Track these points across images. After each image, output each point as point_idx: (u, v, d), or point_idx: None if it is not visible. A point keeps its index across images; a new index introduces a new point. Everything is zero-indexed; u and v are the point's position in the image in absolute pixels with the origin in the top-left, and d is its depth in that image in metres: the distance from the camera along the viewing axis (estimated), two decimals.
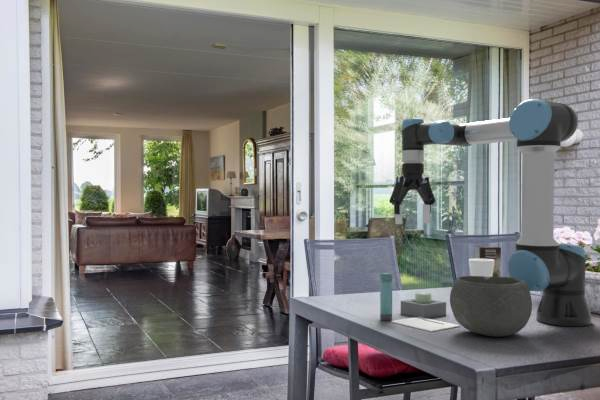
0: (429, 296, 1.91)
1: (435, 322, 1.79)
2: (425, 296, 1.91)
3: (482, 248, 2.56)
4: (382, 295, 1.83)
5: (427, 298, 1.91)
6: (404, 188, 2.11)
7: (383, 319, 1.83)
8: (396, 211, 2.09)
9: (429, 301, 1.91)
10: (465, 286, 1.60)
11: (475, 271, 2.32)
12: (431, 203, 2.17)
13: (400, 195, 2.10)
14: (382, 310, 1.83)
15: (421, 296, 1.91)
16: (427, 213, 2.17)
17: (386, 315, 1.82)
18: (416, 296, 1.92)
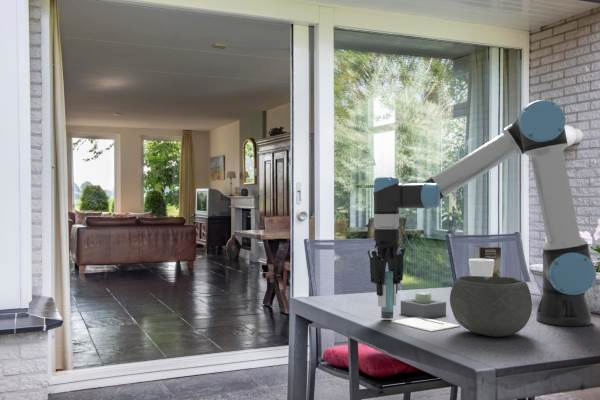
0: (429, 296, 1.91)
1: (435, 322, 1.79)
2: (425, 296, 1.91)
3: (482, 248, 2.56)
4: None
5: (427, 298, 1.91)
6: (380, 262, 1.82)
7: (384, 316, 1.82)
8: (379, 292, 1.82)
9: (429, 301, 1.91)
10: (465, 286, 1.60)
11: (475, 271, 2.32)
12: (397, 281, 1.84)
13: (379, 272, 1.82)
14: (383, 307, 1.83)
15: (421, 296, 1.91)
16: (393, 294, 1.84)
17: (387, 312, 1.82)
18: (416, 296, 1.92)
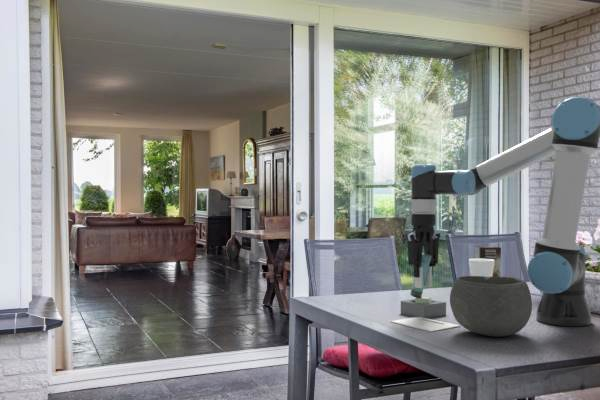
0: (429, 301, 1.91)
1: (435, 322, 1.79)
2: (425, 301, 1.91)
3: (482, 248, 2.56)
4: None
5: None
6: (417, 245, 1.92)
7: (413, 295, 1.94)
8: (416, 274, 1.91)
9: None
10: (465, 286, 1.60)
11: (475, 271, 2.32)
12: (433, 264, 1.93)
13: (417, 255, 1.91)
14: (414, 287, 1.94)
15: (421, 301, 1.91)
16: (429, 276, 1.94)
17: (417, 292, 1.94)
18: (416, 301, 1.92)
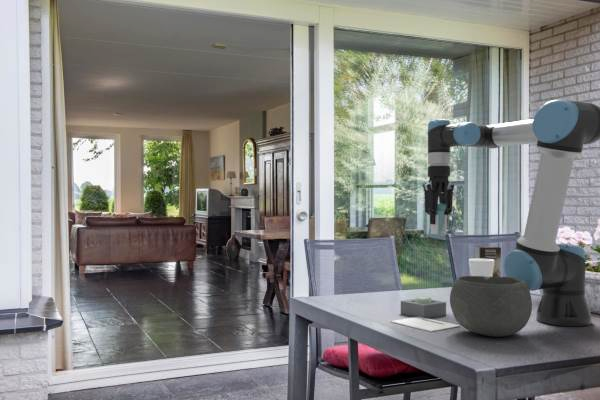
0: (429, 301, 1.91)
1: (435, 322, 1.79)
2: (425, 301, 1.91)
3: (482, 248, 2.56)
4: None
5: None
6: (433, 194, 2.07)
7: (429, 241, 2.10)
8: (432, 221, 2.07)
9: None
10: (465, 286, 1.60)
11: (475, 271, 2.32)
12: (448, 213, 2.09)
13: (433, 204, 2.07)
14: (430, 234, 2.10)
15: (421, 301, 1.91)
16: (444, 223, 2.09)
17: (433, 238, 2.09)
18: (416, 301, 1.92)
